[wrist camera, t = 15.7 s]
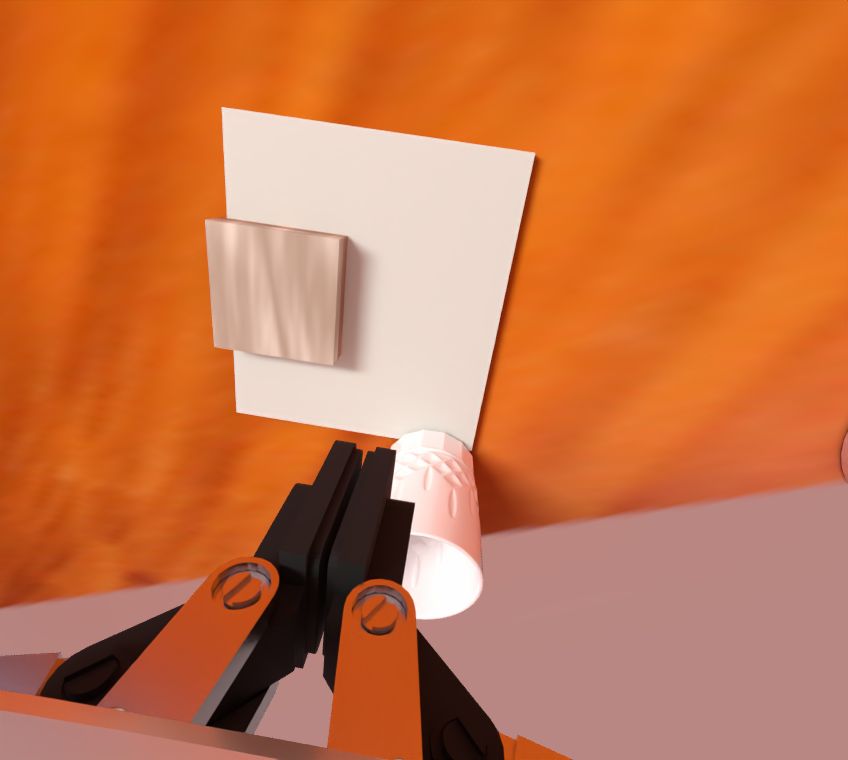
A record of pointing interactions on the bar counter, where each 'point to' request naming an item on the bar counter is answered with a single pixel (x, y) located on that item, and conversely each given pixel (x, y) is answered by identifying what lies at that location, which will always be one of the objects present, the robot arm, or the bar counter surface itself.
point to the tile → (276, 289)
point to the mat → (384, 268)
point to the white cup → (439, 523)
